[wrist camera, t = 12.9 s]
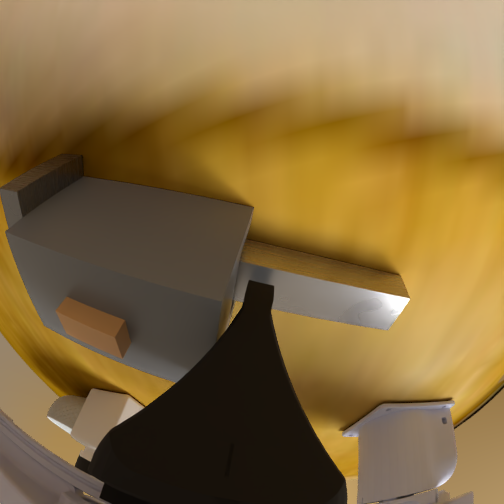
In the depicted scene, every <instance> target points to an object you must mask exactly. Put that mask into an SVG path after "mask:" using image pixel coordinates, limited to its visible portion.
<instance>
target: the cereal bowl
mask: <svg viewBox="0 0 504 504" xmlns="http://www.w3.org/2000/svg"><path fill="white" fill-rule="evenodd" d="M86 399H87V398H84V397H78V396H74V395H68V396H63V397H60V398H58V399H57V400H56V401H54V403H53V404H52V406H51V407H50V409H49V411H48V414H47V417H48V418H49V419H50V420H51V421H52V422H53V423H55V424H56V425H57V426H59V427H60V428H62V429H63V430H65V431H66V432H68V433H69V434H70V433H71V431H72V428H73V426H74V424H75V422H76V420H77V418H78V415H79V413H80V411H81V409H82V407H83V405H84V403H85V401H86Z"/></svg>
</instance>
